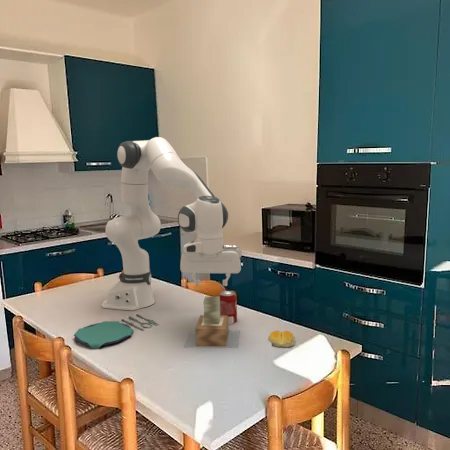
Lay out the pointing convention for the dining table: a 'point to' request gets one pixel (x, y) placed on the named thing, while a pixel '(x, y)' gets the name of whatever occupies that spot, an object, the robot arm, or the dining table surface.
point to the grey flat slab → (231, 343)
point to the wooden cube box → (212, 332)
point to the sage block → (211, 310)
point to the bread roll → (282, 339)
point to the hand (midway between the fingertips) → (211, 285)
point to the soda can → (228, 306)
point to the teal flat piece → (108, 332)
